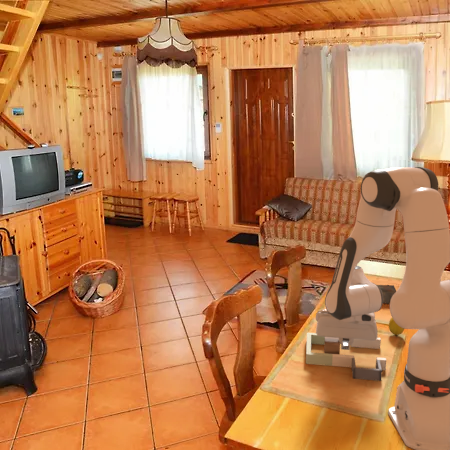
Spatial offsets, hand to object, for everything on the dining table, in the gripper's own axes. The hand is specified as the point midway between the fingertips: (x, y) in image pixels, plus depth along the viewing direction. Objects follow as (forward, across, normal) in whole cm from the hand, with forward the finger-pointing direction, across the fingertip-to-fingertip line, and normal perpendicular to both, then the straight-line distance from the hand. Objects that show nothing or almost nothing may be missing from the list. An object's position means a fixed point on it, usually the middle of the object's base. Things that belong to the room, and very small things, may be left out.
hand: (345, 348), depth 175 cm
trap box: (+2, 0, 0) cm, 2 cm away
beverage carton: (+3, +14, +52) cm, 54 cm away
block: (+2, -4, 0) cm, 5 cm away
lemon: (+2, +19, +18) cm, 26 cm away
